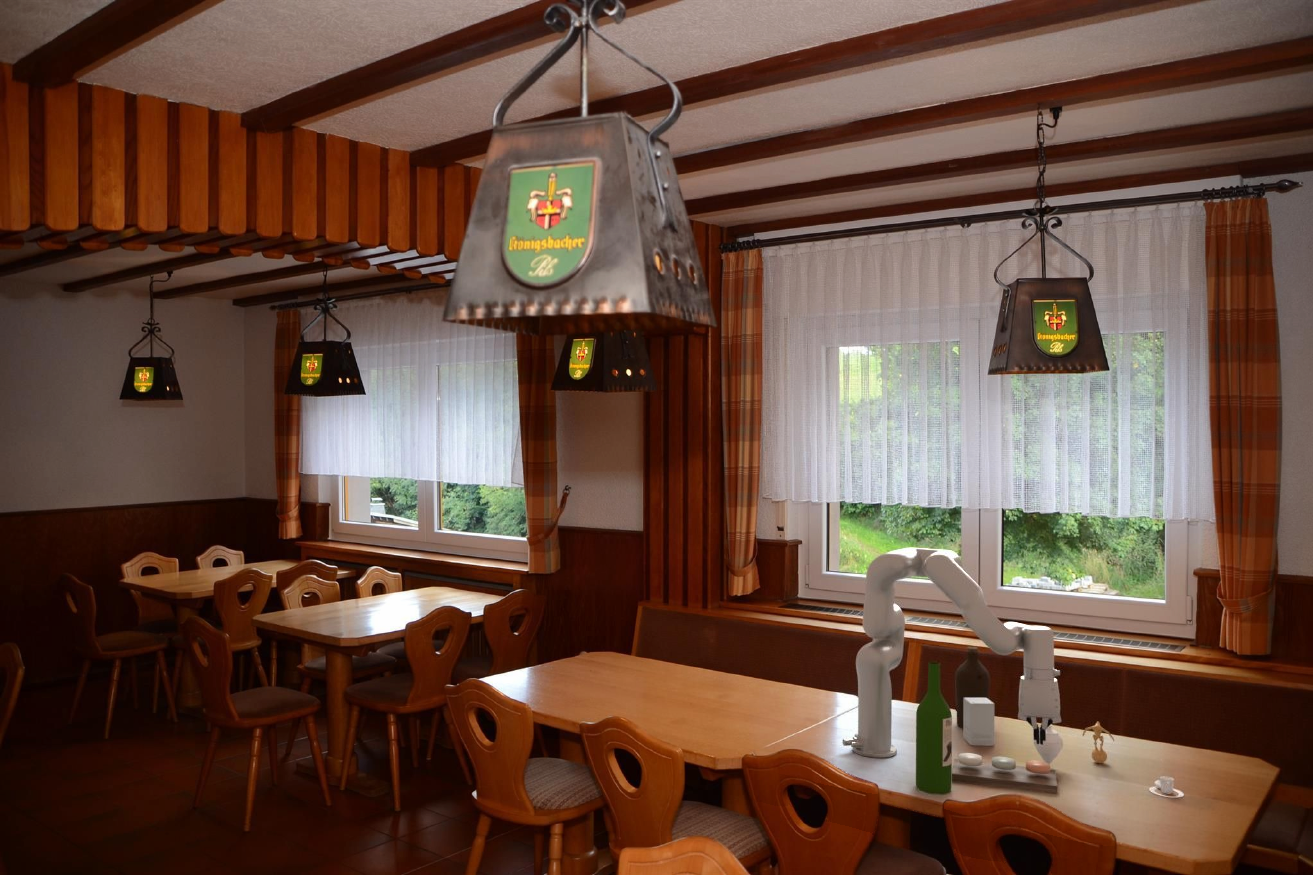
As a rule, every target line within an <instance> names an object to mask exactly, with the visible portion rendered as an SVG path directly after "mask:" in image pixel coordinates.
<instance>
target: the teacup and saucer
mask: <svg viewBox="0 0 1313 875" xmlns="http://www.w3.org/2000/svg"><path fill="white" fill-rule="evenodd" d="M1159 779H1160V780H1159ZM1159 779H1157V780H1155V781H1154V782H1153V783H1154V786H1151V787H1149V789H1148V791H1150V792H1151V793H1152V794H1154V795H1156V796H1160V797H1164V798H1172V799H1179V798H1182V797H1184V796H1185V794H1184V793H1183V791H1182V790H1179V789H1176V788H1174V783H1175V779H1174V778H1173V777H1171V776H1167V775H1163V776H1162V775H1161V776H1160V777H1159ZM1157 789H1159V790H1161V792H1162V793H1163V794H1160V793H1158V792H1156V791H1155V790H1157ZM1173 791H1174V792H1176V793H1178V795H1173V796H1172V795H1171V796H1170V794H1173ZM1164 794H1166V795H1164ZM1167 794H1168V795H1167Z"/></svg>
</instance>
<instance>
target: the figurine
mask: <svg viewBox="0 0 1313 875" xmlns="http://www.w3.org/2000/svg"><path fill="white" fill-rule="evenodd" d="M1090 730H1093V732H1094V733H1093V734H1092V739H1093V740H1094V742H1093V744H1094V749H1093V750H1092V752H1091V758H1092V760H1093V761H1094V762H1095V763H1098V764H1104V763H1105V762H1106V761H1107V760H1108V756H1107V755H1108V754H1107V752H1106V751H1105V749H1103V745H1104V736H1103V735H1101V734H1102V732H1104V733H1106V734H1108V735H1109V737H1110V738H1111V739H1112V740H1113V742H1115V738H1114V737H1113V736H1112V735H1111V732H1110V731H1108V730H1106V729H1105V728H1103V727H1102V726H1101V724H1100V721H1096V723H1095V725H1092V726H1089V727H1085V728H1084V731H1083V733H1082V736H1085V733H1086V732H1087V731H1090ZM1098 740H1099V741H1100V744H1099V745H1100V747H1099V748H1098V747H1097V745H1098V744H1097V741H1098Z"/></svg>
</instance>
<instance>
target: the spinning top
mask: <svg viewBox="0 0 1313 875" xmlns="http://www.w3.org/2000/svg"><path fill="white" fill-rule="evenodd" d="M1032 741H1033V744H1034V747H1035V749H1036V751H1037V753H1038V755H1040V757H1041V759H1042V761H1043V762H1046V763H1048V764H1050V765H1051V763H1053V761H1054V760H1055V759H1056V758H1057V757H1058V755H1059V754H1060V753H1061V751H1062V749H1063V746H1064V740H1063V737H1062V736H1061V735H1060V733H1059V732H1058V731H1057V730H1054V729H1053V724H1051V725H1050V726H1049V727H1047V729H1046V741H1043V745H1041V744H1040V729H1039V744H1037V743H1036V740H1034V738H1033V740H1032Z"/></svg>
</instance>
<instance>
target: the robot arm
mask: <svg viewBox="0 0 1313 875" xmlns="http://www.w3.org/2000/svg"><path fill="white" fill-rule="evenodd" d="M865 576H866V577H865V591H864V598H863V601H864V602H863V612H862V613H863V614H862V628H863V631H864V633H865V635H867V636H868V637H869V638H871V639H872V641H871V642H868V643H866V644H864V645H863V646H862V647H861V648H859V650H858V652H857V654H856V657H855V658H856V659H855V669H856V674H857V685H858V686H857V689H858V690H857V697H858V698H857V699H858V700H857V702H858V703H857V707H858V708H857V710H858V711H857V712H858V713H857V715H858V717H857V722H858V723H857V733H855V734H854V736H853V737H852V738H843V739H842V745H843V746H844V747H845V746H846V747H847V746H850V747H851V748H852V751H853V752H854V753H856V754H858V755H861V756H864V757H869V758H877V759H878V758H882V759H883V758H891V757H893V756H895V755H897V754H898V753H897V752H898V749H897V747H896V746H895V745H893V744H892V716H893V715H892V714H893V713H892V707H893V705H892V703H893V702H892V701H893V699H892V695H893V694H892V692H893V691H892V682H891V676H890V671H892V670H895V669H896V668H897V667H899V665H900V663H901V661H902V659H903V653H904V642H905V630H906V629H905V628H906V625H905V624H906V620H905V615H904V612H903V611H902V609H901V607H900V606H899V605H897V604H896V603H895V597H896V590H895V582H896V581H902V580H905V579H909V578H911V577H912V578H913V577H917V578H919V577H920V578H928V580H929V581H931V583H933V585H935V586H936V587H937V589H938V590H940V592H942V594H943V595H944V596H945V597H946V598H947V599H949V601H951V603H953V605H954V606H956V608H957V609H958V610H959V613H960V614H961V616H962V618H963V619H964V621H965V622H966V624H967V626H968V627H969V628H970V629H971V631H972V632H973V633H974V635H976V636H977V637H978V639H979V640H981V641H982V642H983V644H984V645H985V646H987V647H988V648H989V649H990V650H991V651H993V652H994V653H996V654H997V655H999V656H1000V655H1002V656H1008V655H1011V654H1012V653H1013V654H1014V652H1016V651H1020V650H1022V651H1023V675H1022V676H1020V679H1019V687H1018V712H1017V713H1018V714H1017V718H1018V720H1021V721H1024V722H1027V723H1028V724H1029V725H1030V726H1031V727H1032V728H1033V729H1032V730H1033V739H1034V740H1036V743H1037V744H1039V730H1040V744H1041V745H1043V741H1046V729H1047V727H1049V726H1050V725H1053V724H1059V723H1062V718H1061V699H1060V689H1059V688H1060V687H1059V683H1058V679H1057V678H1056V677H1058V676H1061V670H1057V669H1055V648H1054V647H1055V640H1054V639H1055V638H1054V636H1055V634H1054V631H1053V630H1052V628H1051V627H1048V626H1045V625H1044V626H1043V625H1028V624H1024V623H1019V622H1015V621H1006V622H1004V623H1003V622H1002V621H1001V620H1000V619H998V617H997V616H996V615H995V614H994V613H993V612H992V611H991V609H990V608H989V606H988V604H987V602H986V600H985V599H986V598H985V595H984V591H983V588H982V587H981V586H980V584H978V583H977V582H976V581H975V580H974V579H973V578H972V577H971V576H970V575H969V574H968V573H967V572H966V571H964V569H963V560H962V559H961V557H960V556H959V554H957V553H956V552H954V551H953V550H950V549H936V548H919V547H905V548H904V547H903V548H899V549H895V550H892V551H888V552H885V553H882V554H881V555H877V556H876V557H874V559H873V560H872V561H871V562H870V564H869V565H868V568H867V570H866V574H865ZM1037 718H1040V719H1041V718H1042V720H1041V724H1040V726H1039V724H1038V723H1037ZM1034 740H1033V741H1034Z"/></svg>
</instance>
